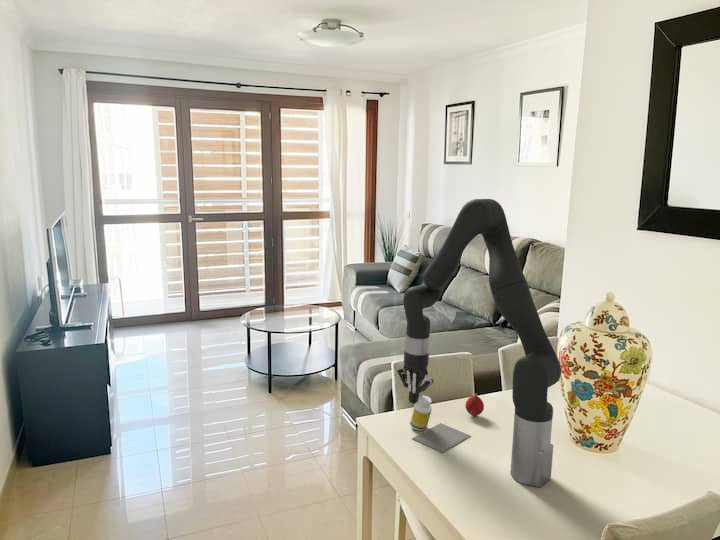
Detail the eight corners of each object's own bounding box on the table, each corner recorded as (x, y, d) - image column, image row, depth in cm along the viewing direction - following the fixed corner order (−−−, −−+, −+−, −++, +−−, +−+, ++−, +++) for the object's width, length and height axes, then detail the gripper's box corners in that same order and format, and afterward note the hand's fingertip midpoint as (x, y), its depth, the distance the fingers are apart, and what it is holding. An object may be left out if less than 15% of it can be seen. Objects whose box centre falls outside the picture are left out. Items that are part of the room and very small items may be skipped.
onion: (461, 414, 171) (462, 391, 170) (475, 411, 174) (476, 388, 172) (472, 422, 166) (473, 398, 165) (486, 418, 169) (488, 395, 167)
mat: (470, 436, 157) (470, 435, 157) (442, 453, 147) (442, 452, 147) (440, 423, 165) (440, 423, 165) (412, 439, 155) (412, 438, 155)
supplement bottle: (427, 432, 160) (434, 406, 156) (409, 429, 160) (416, 402, 156) (425, 421, 165) (433, 395, 161) (408, 418, 165) (415, 392, 161)
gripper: (442, 353, 157) (437, 406, 160) (408, 341, 166) (404, 392, 170) (426, 358, 152) (422, 414, 155) (392, 346, 161) (389, 398, 164)
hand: (413, 402), depth 162 cm, fingers closed
